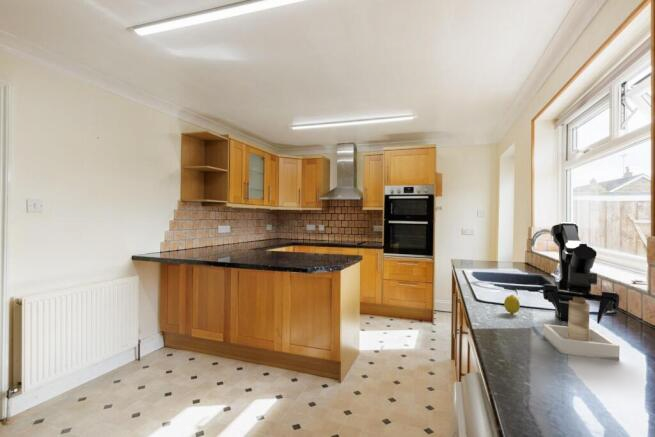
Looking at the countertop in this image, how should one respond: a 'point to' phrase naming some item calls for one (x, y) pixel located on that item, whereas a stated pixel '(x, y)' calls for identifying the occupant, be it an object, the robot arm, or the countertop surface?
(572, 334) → the pepper mill
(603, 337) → the bin
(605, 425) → the countertop surface
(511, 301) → the lemon
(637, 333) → the countertop surface
